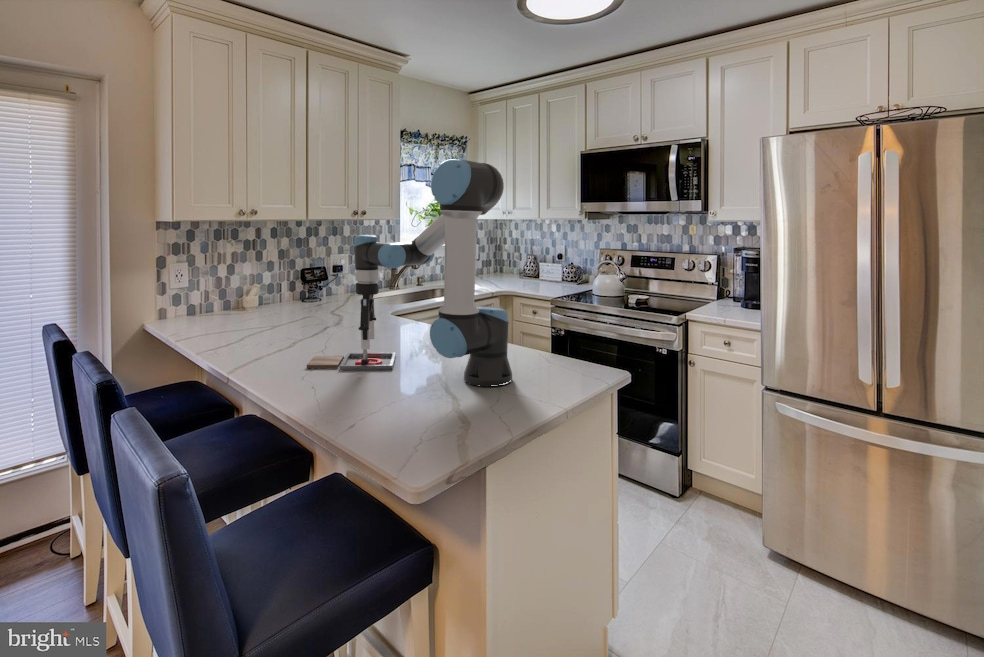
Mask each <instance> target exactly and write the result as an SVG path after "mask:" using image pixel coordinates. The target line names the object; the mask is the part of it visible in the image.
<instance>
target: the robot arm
mask: <svg viewBox="0 0 984 657" xmlns="http://www.w3.org/2000/svg"><path fill="white" fill-rule="evenodd" d="M504 188H505V187H504V179H503V176H502V174H501V172H500V171H499V170H498V169H497V168H496V167H495V166H493V165H492V164H489V163H484V162H477V161H472V160H467V159H459V158H457V159H456V158H455V159H454V158H453V159H452V158H450V159H447V160H444V161H442V162H441V163H440V164H439V165H438V167H437V168H436V169H435V170H434V172H433V174H432V177H431V182H430V190H431V194H432V196H433V199H434V200H435V201H436V202H437V203H438V204H439V212H440V213H441V214H440V216H438V217H437V218H436V219H435V220H434V221H433V222H432V223H431V224H430V225H429V226H427V228H425V229H424V230H423V231H422V232H421V233H420V234H419V235H417V237H415V239H413V240H412V241H410V242H379V238H378V236H377V235H372V234H371V235H370V234H360V235H356V236H355V237H354V246H353V250H354V269H355V270H354V271H353V275H354V276H355V278H354V279H355V282H356V283H355V286H354V287H355V294H357V295H358V296H359V295H361V296H362V298H361V299H360V322H359V323H360V324H359V327H358V331H360V343H361V345H360V348H361V350H363V349H367V350H370V349H371V340H375V322H376V321H377V317H376V315H375V304H374V303H375V299H374V296H375V295H378V294H379V292H380V291H379V290H380V289H379V288H380V287H379V286H380V285H379V282H378V281H379V279H380V278H379V267H385V268H387V269H398V268H400V267H403V266H404V267H405V266H422V265H423V266H424V265H428V264H430V263H432V261H433V260H434V257H435V253H436V252H437V251H438V250H439V249H440V248H441V247H443V246H444V276H443V277H444V283H443V284H444V285H443V288H444V290H443V292H444V294H443V305H441V306H440V307H439V308H438V318H437V319H436V320H434V321H433V323H432V324H431V325H430V328H429V339H430V342H431V344H432V346H433V348H434V349H435V350H436V352H437V353H438V354H439V355H441V357H444V358H446V359H455V358H462V357H463V356H467V355H469V357H468V360H467V363H466V366H465V369H464V373H463V381H464V380H465V381H466V382H467V383H466V382H465V381H464V382H465V383H466V384H468V383H470V384H469V385H471V384H473V385H472V386H474V385H480V386H491V385H499V384H503V383H506V382H509V381H510V380H511V379H512V380H513V372H512V369H511V364H510V361H509V359H508V344H509V342H508V341H509V340H508V339H509V338H508V337H509V324H510V322H509V313H508V311H506V310H505V309H502V308H497V307H491V306H480V305H479V306H477V305H475V296H476V295H475V291H476V290H475V289H476V288H475V287H476V285H475V284H476V259H477V258H476V256H477V255H476V254H477V219H478V218H479V217H480V216H484V215H486V214H487V213H488V212H490V211H491V210H492V209H493V208H494V207H495V206H496V205H497V204H498V203H499V201H500V200H501V199H502V196H503V193H504ZM480 386H479V387H480Z"/></svg>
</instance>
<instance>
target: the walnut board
mask: <svg viewBox="0 0 984 657" xmlns="http://www.w3.org/2000/svg"><path fill="white" fill-rule="evenodd" d="M344 358H345V355H313V357H312V358H311V359H310V361H309V362H308V363H307V364H306V369H307V368H331V369H339V368H340V366H339V365H341V362H342V361H343V359H344ZM338 367H339V368H338Z"/></svg>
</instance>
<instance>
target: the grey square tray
mask: <svg viewBox="0 0 984 657" xmlns="http://www.w3.org/2000/svg"><path fill="white" fill-rule="evenodd" d="M350 357H363V352H347V353H346V355H345V356H344V360H343V361H342V363H341V364H340V366H339V371H340V370H343V371H393V370H394V366H395V362H396V359H397V358H396V357H397V352H367V357H377V358H391V359H390V363H389V364H379V365H355V364H348V363H349V361H350V359H351V358H350ZM348 360H349V361H348ZM347 362H348V363H347Z"/></svg>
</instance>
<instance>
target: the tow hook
mask: <svg viewBox="0 0 984 657" xmlns="http://www.w3.org/2000/svg"><path fill="white" fill-rule="evenodd" d="M362 353H363V358H360V359H358V360H356V361H355V363H354V365H382V363H383V359H382V358H378V357H377V358H367V353H368V349H362ZM370 360H371V361H370ZM376 361H377V362H376Z"/></svg>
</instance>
